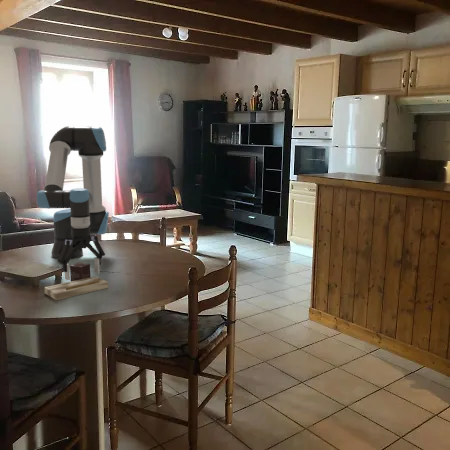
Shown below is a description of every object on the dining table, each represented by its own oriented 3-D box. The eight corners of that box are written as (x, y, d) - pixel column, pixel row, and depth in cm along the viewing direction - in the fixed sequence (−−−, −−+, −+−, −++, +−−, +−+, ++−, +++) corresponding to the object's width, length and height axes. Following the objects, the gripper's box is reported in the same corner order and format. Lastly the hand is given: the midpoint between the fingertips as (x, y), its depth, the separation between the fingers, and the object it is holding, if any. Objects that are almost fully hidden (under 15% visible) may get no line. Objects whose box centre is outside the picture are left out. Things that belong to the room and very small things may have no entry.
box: (91, 280, 202) (90, 263, 201) (81, 284, 197) (81, 267, 196) (79, 278, 205) (79, 261, 203) (70, 282, 199) (69, 265, 198)
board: (44, 293, 185) (44, 285, 185) (95, 281, 200) (95, 274, 200) (56, 300, 178) (55, 291, 178) (108, 287, 193) (108, 280, 193)
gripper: (55, 232, 184) (58, 284, 189) (112, 224, 201) (113, 272, 206) (47, 228, 190) (50, 279, 194) (103, 221, 207) (104, 268, 211)
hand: (82, 275), depth 200 cm, fingers open, 13 cm apart
